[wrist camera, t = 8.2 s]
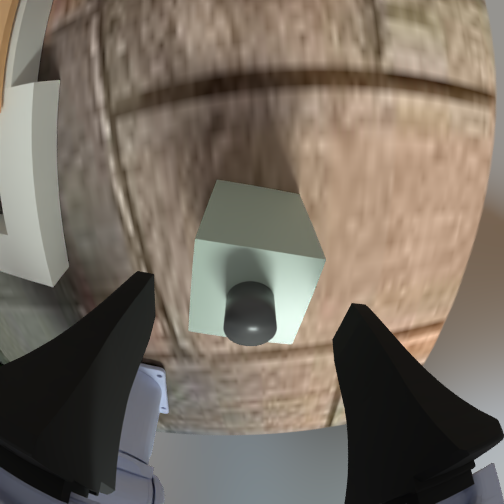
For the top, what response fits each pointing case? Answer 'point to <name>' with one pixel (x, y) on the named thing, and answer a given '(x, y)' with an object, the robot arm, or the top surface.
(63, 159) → the top surface
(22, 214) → the socket housing
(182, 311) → the top surface
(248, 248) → the plug
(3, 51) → the panel
